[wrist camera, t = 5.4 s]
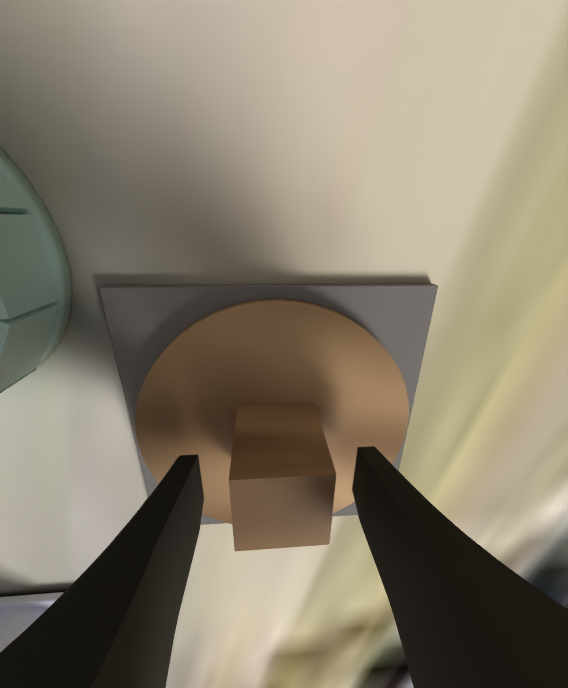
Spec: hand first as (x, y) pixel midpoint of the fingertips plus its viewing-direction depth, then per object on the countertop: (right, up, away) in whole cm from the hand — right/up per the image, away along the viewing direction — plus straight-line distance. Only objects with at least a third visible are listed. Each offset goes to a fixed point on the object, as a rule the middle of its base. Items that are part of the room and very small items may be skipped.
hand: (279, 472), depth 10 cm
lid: (0, +1, +2) cm, 3 cm away
